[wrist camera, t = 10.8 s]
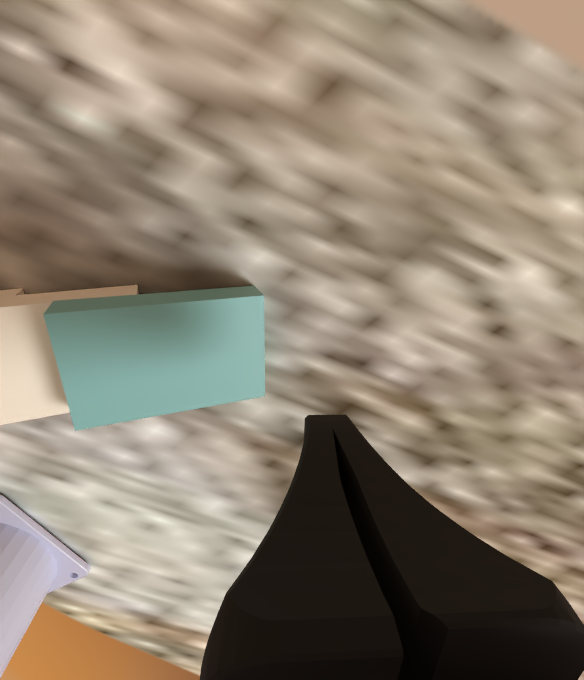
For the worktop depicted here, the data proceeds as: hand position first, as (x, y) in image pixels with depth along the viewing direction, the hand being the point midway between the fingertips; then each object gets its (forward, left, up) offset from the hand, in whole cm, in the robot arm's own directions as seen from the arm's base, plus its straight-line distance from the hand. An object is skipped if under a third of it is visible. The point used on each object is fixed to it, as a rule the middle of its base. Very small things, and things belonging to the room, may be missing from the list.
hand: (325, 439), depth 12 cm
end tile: (-2, +2, -6) cm, 7 cm away
